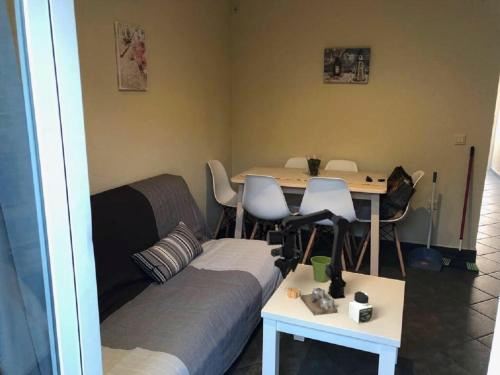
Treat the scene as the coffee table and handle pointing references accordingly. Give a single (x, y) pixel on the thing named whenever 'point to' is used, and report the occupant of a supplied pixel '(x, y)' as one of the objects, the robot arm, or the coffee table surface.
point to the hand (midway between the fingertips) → (288, 275)
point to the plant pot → (320, 268)
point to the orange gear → (293, 292)
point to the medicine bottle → (360, 308)
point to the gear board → (319, 302)
